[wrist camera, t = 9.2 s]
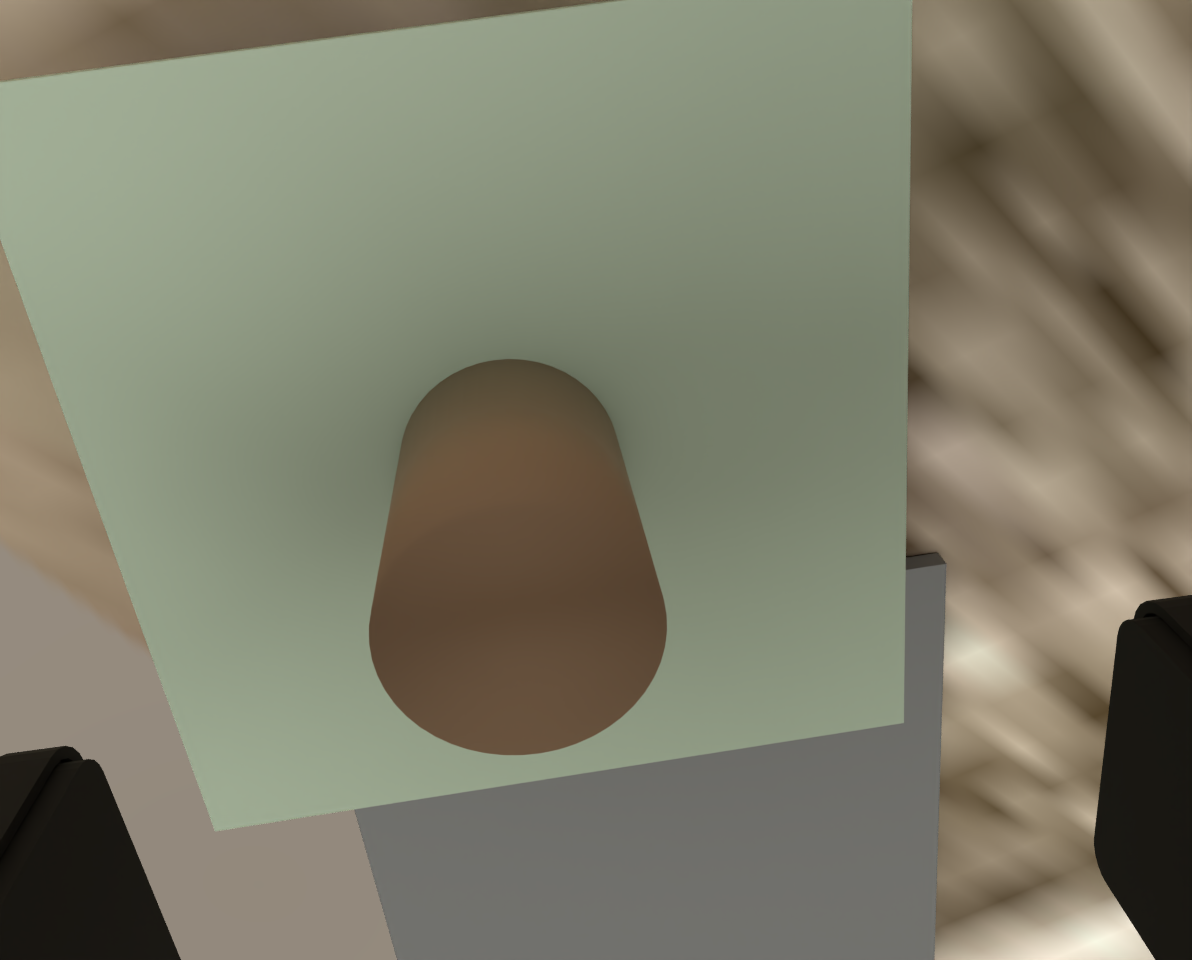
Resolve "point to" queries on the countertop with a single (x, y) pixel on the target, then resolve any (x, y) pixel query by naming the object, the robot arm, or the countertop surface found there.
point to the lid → (489, 385)
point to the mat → (691, 846)
